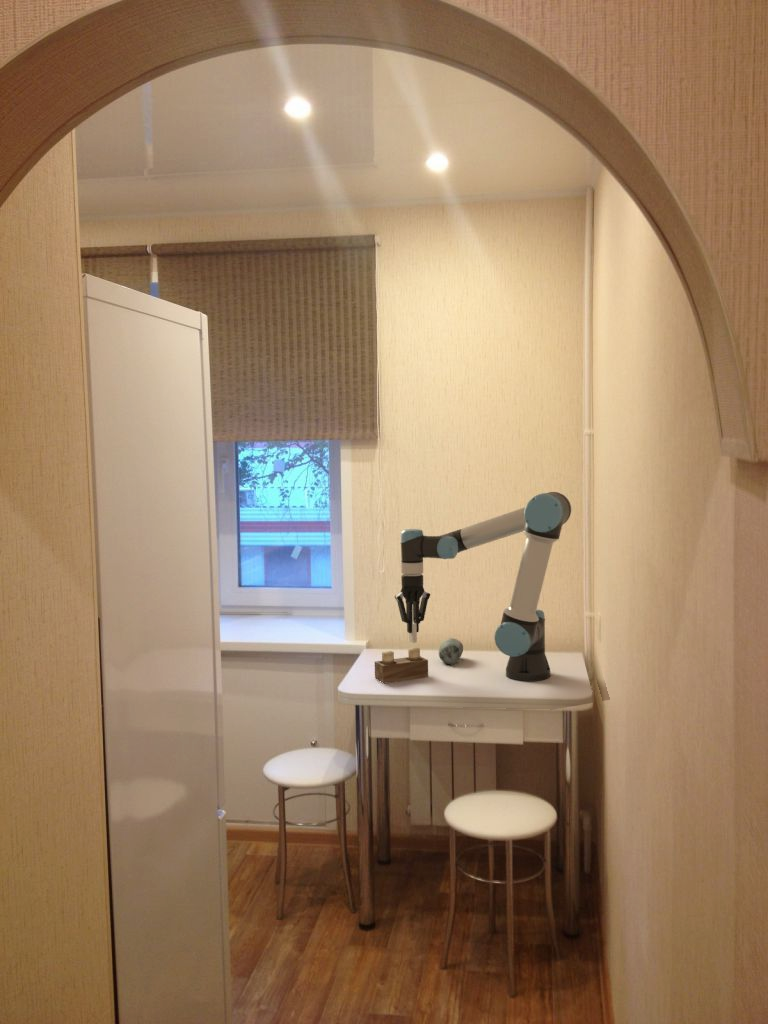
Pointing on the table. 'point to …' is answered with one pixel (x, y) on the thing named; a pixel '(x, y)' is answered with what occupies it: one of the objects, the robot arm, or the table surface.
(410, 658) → the peg right
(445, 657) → the grey green ridged egg
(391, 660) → the peg left
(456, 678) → the table surface
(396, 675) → the walnut block
